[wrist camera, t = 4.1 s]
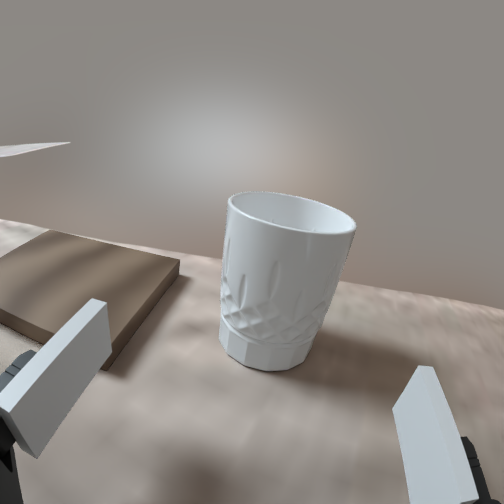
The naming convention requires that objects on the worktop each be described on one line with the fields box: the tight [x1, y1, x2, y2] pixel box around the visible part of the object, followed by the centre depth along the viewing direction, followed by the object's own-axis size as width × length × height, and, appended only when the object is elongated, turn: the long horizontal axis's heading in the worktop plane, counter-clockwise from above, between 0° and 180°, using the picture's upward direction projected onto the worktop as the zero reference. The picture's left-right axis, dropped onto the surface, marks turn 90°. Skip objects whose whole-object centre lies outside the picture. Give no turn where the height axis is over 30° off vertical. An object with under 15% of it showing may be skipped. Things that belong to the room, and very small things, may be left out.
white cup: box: [219, 192, 357, 371], centre depth 21 cm, size 8×8×10 cm
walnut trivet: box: [0, 230, 180, 371], centre depth 24 cm, size 16×14×2 cm
